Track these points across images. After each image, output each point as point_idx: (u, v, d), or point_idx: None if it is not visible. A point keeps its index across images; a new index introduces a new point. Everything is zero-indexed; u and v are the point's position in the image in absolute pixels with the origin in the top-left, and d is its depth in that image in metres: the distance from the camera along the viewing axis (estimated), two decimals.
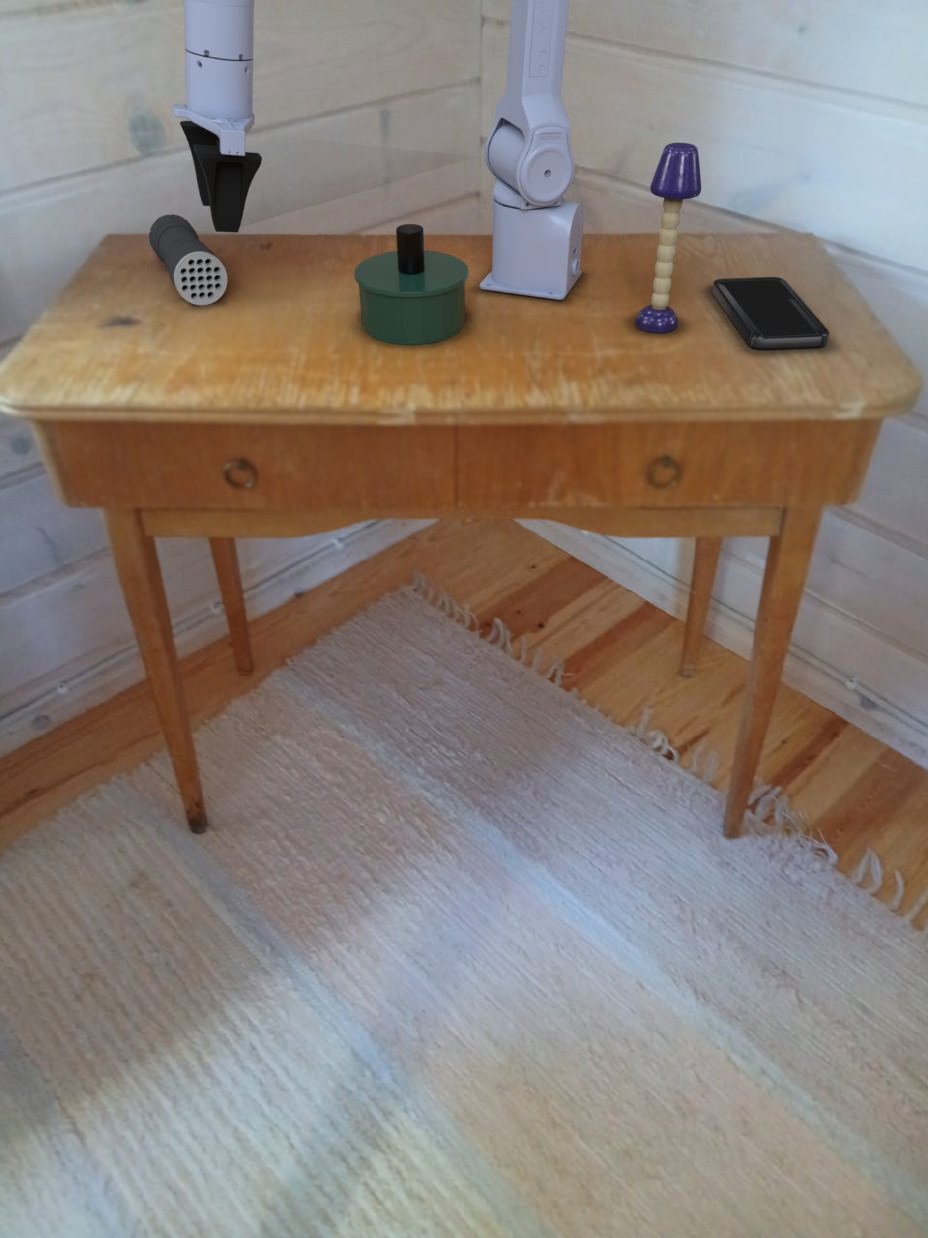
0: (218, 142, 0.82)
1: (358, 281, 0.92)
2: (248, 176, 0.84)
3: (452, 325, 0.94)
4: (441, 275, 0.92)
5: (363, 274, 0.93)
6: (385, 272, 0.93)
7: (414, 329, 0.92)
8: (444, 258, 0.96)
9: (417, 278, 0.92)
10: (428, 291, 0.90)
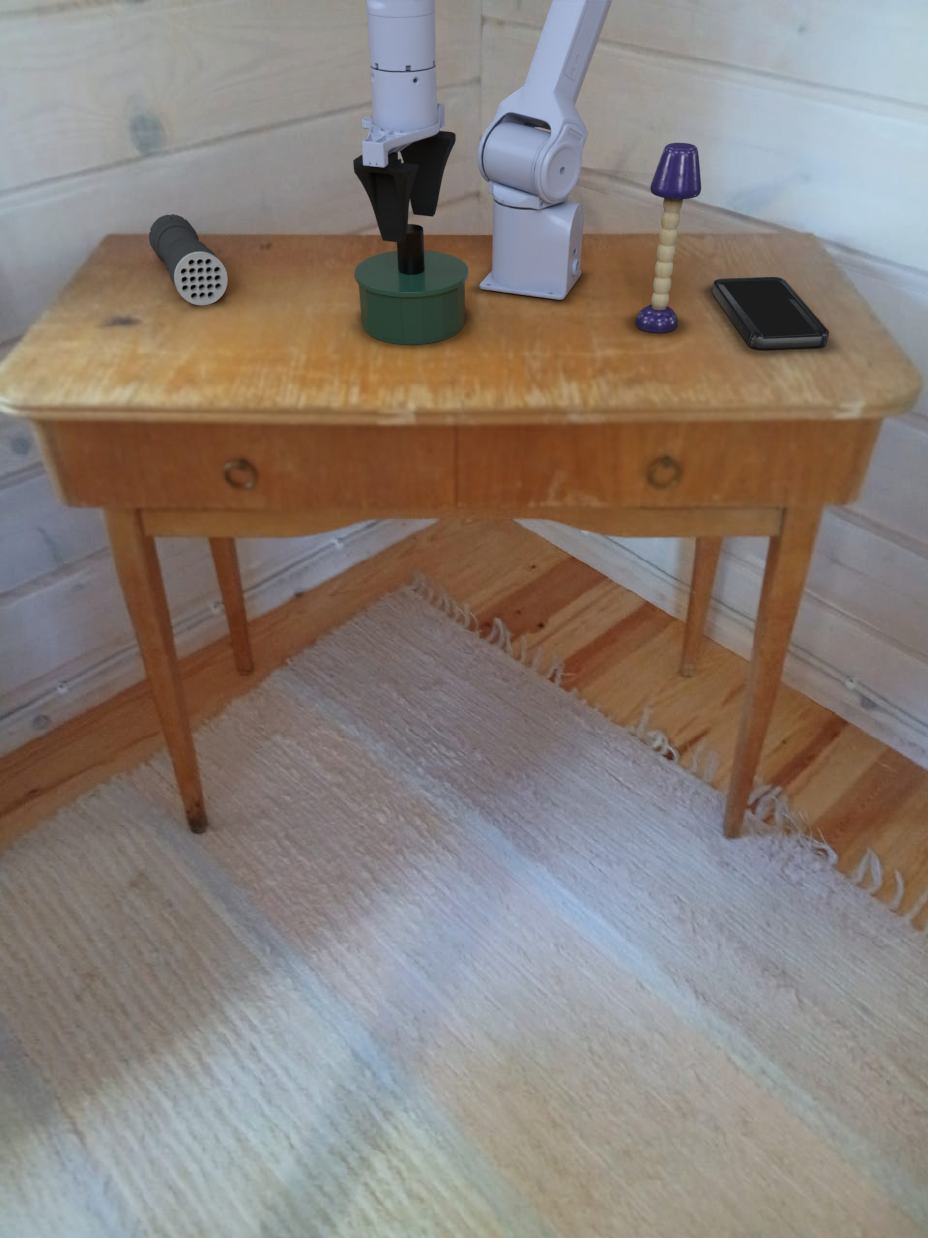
0: None
1: (358, 281, 0.92)
2: (399, 187, 0.83)
3: (452, 325, 0.94)
4: (441, 275, 0.92)
5: (363, 274, 0.93)
6: (385, 272, 0.93)
7: (414, 329, 0.92)
8: (444, 258, 0.96)
9: (417, 278, 0.92)
10: (428, 291, 0.90)
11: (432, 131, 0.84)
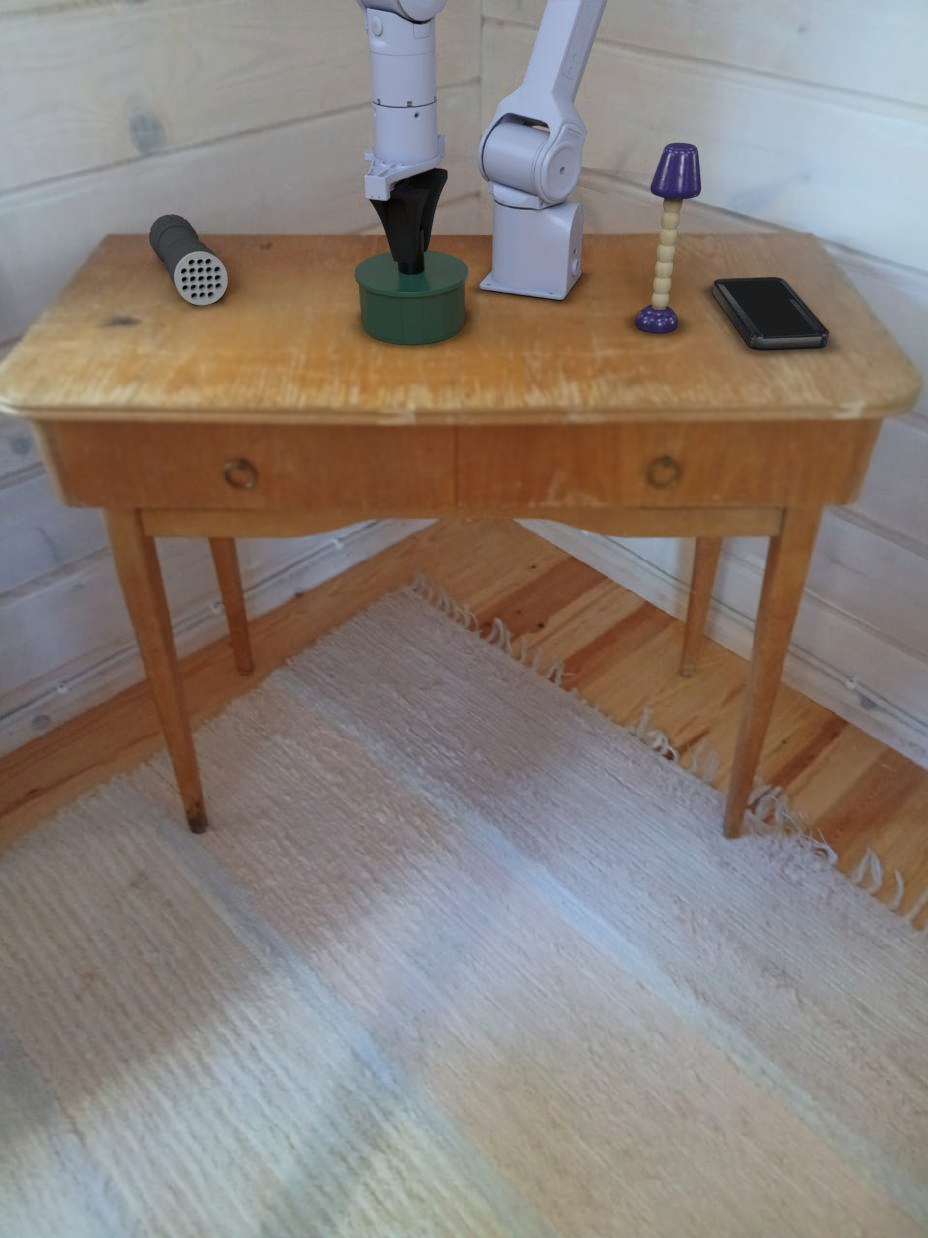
0: None
1: (358, 281, 0.92)
2: (411, 212, 0.86)
3: (452, 325, 0.94)
4: (441, 275, 0.92)
5: (363, 274, 0.93)
6: (385, 272, 0.93)
7: (414, 329, 0.92)
8: (444, 258, 0.96)
9: (417, 278, 0.92)
10: (428, 291, 0.90)
11: (433, 164, 0.86)
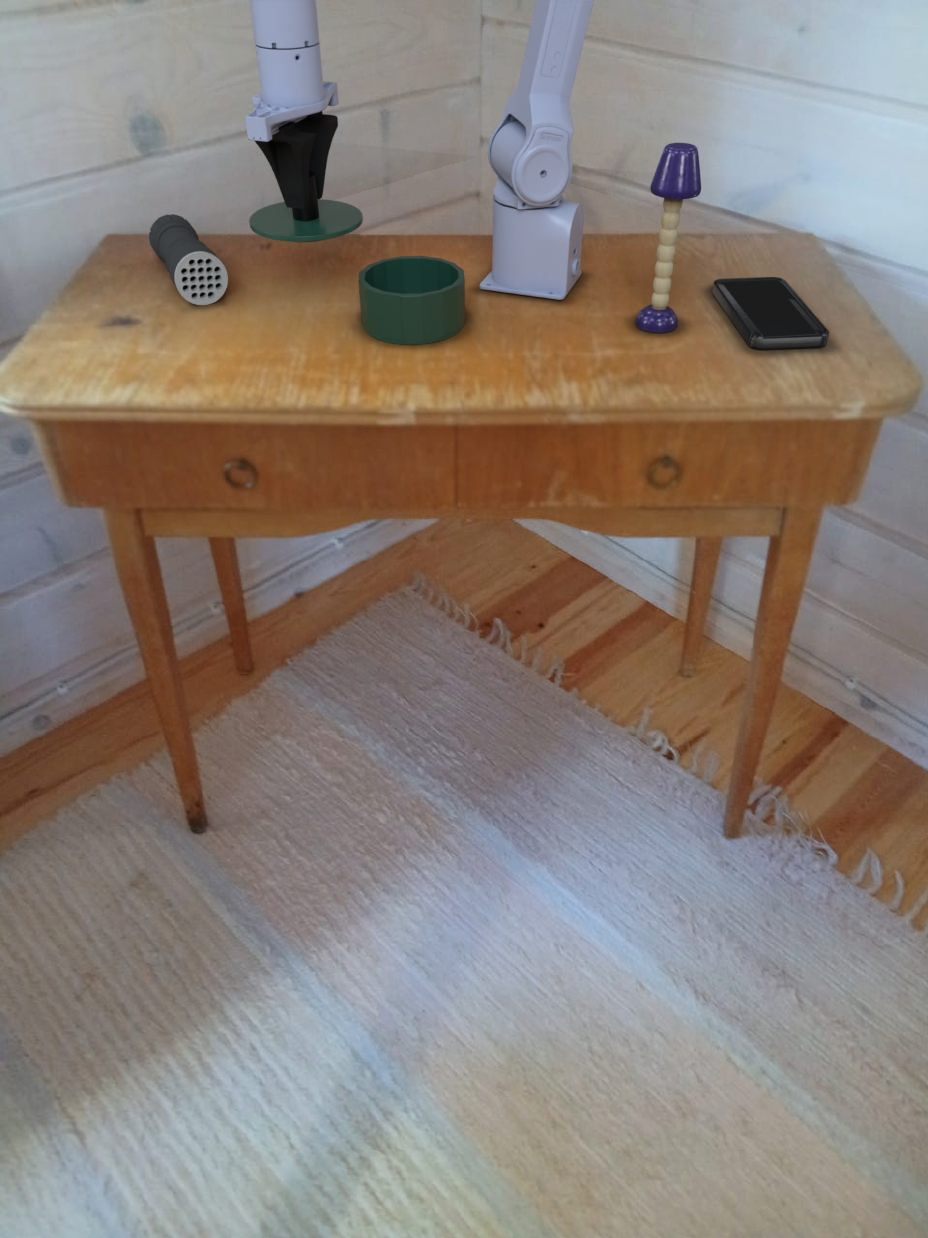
0: None
1: (251, 227, 0.93)
2: (297, 155, 0.88)
3: (452, 325, 0.94)
4: (334, 221, 0.94)
5: (257, 220, 0.94)
6: (280, 219, 0.94)
7: (414, 329, 0.92)
8: (341, 206, 0.97)
9: (310, 224, 0.93)
10: (318, 235, 0.91)
11: (318, 107, 0.87)
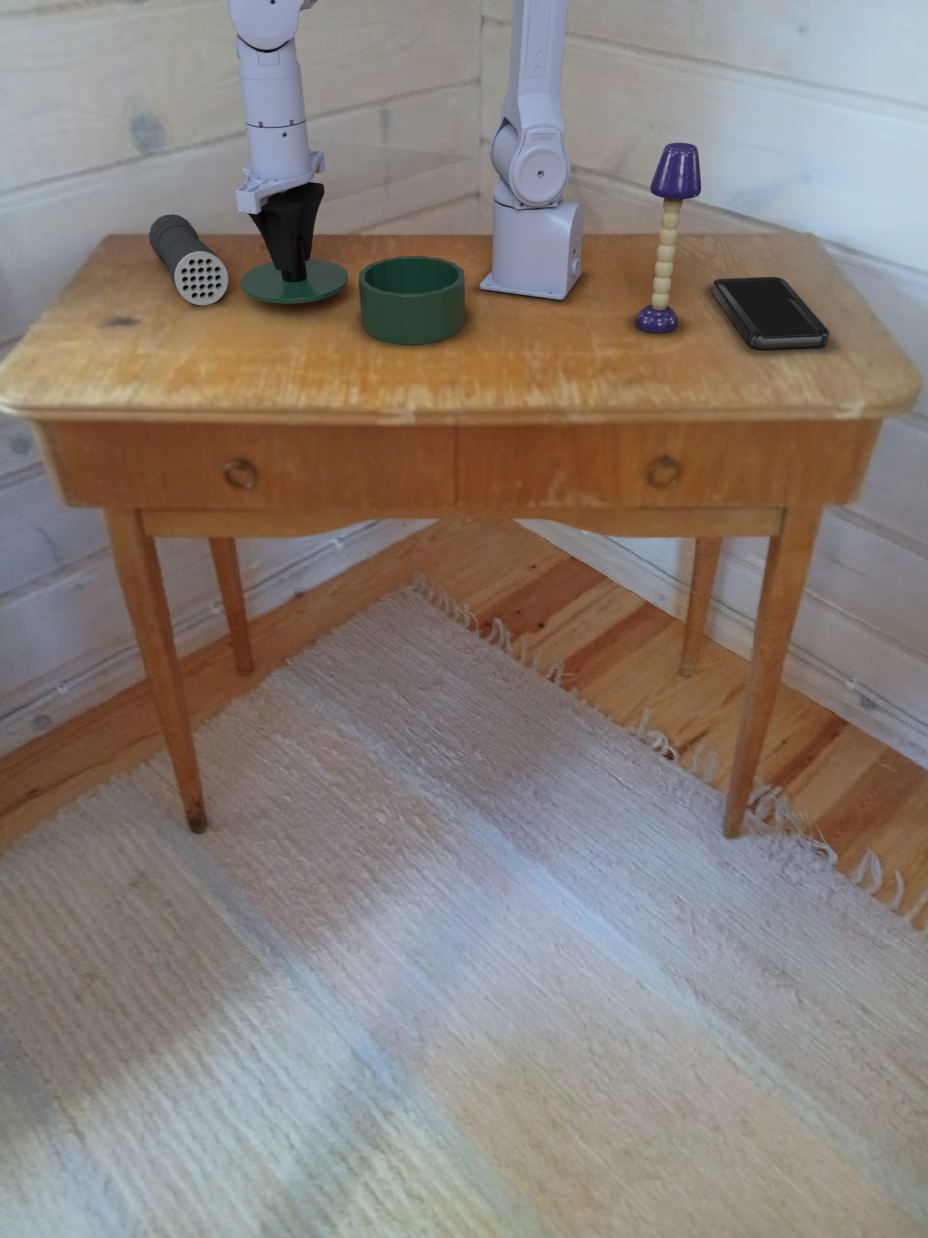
0: None
1: (242, 288, 0.98)
2: (285, 224, 0.93)
3: (452, 325, 0.94)
4: (321, 282, 0.99)
5: (248, 281, 0.99)
6: (269, 280, 0.99)
7: (414, 329, 0.92)
8: (328, 266, 1.02)
9: (298, 285, 0.98)
10: (305, 298, 0.96)
11: (305, 179, 0.92)
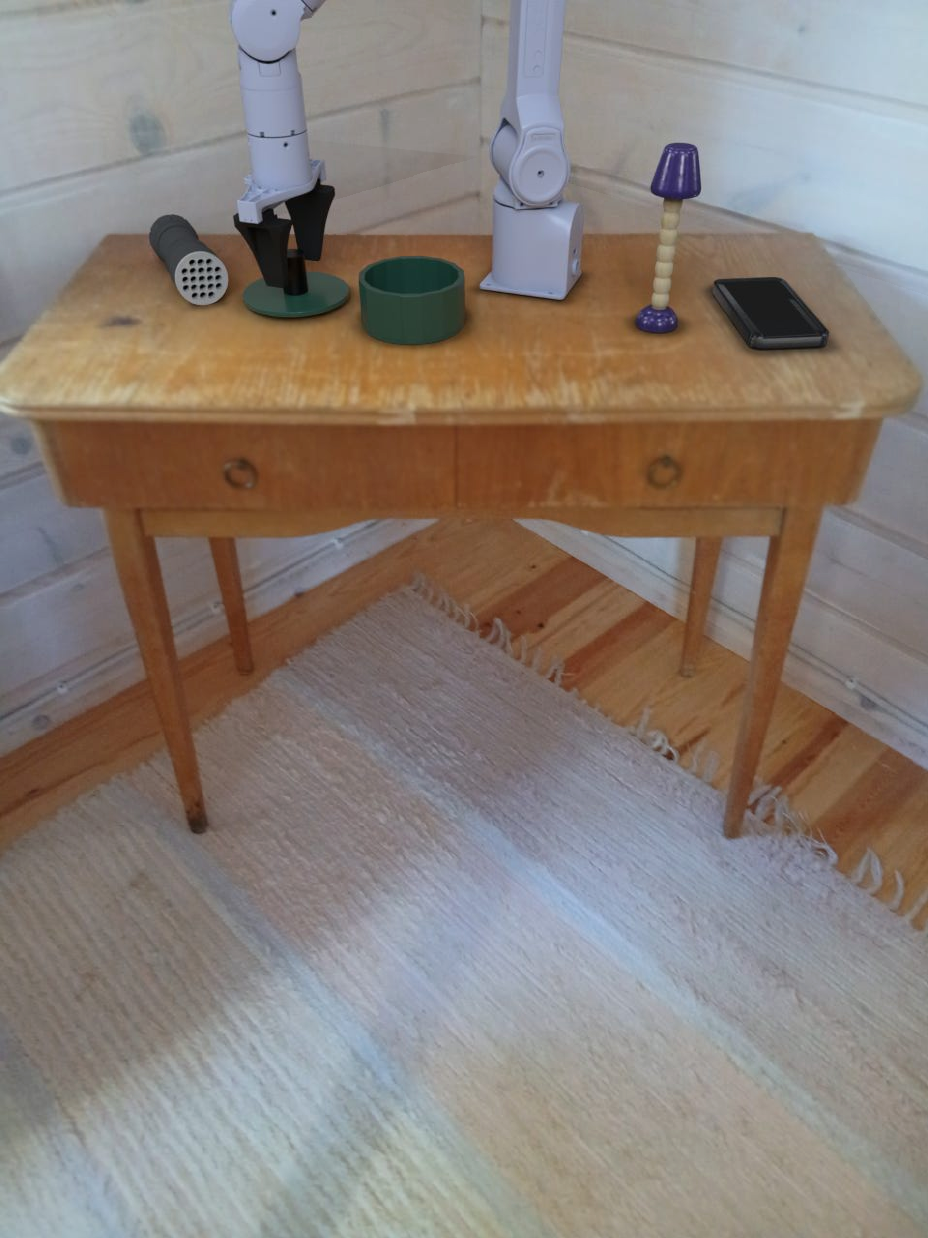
0: None
1: (244, 302, 0.99)
2: (275, 240, 0.92)
3: (452, 325, 0.94)
4: (322, 296, 1.00)
5: (250, 295, 1.00)
6: (271, 293, 1.00)
7: (414, 329, 0.92)
8: (329, 279, 1.03)
9: (299, 299, 0.99)
10: (307, 311, 0.97)
11: (306, 189, 0.92)
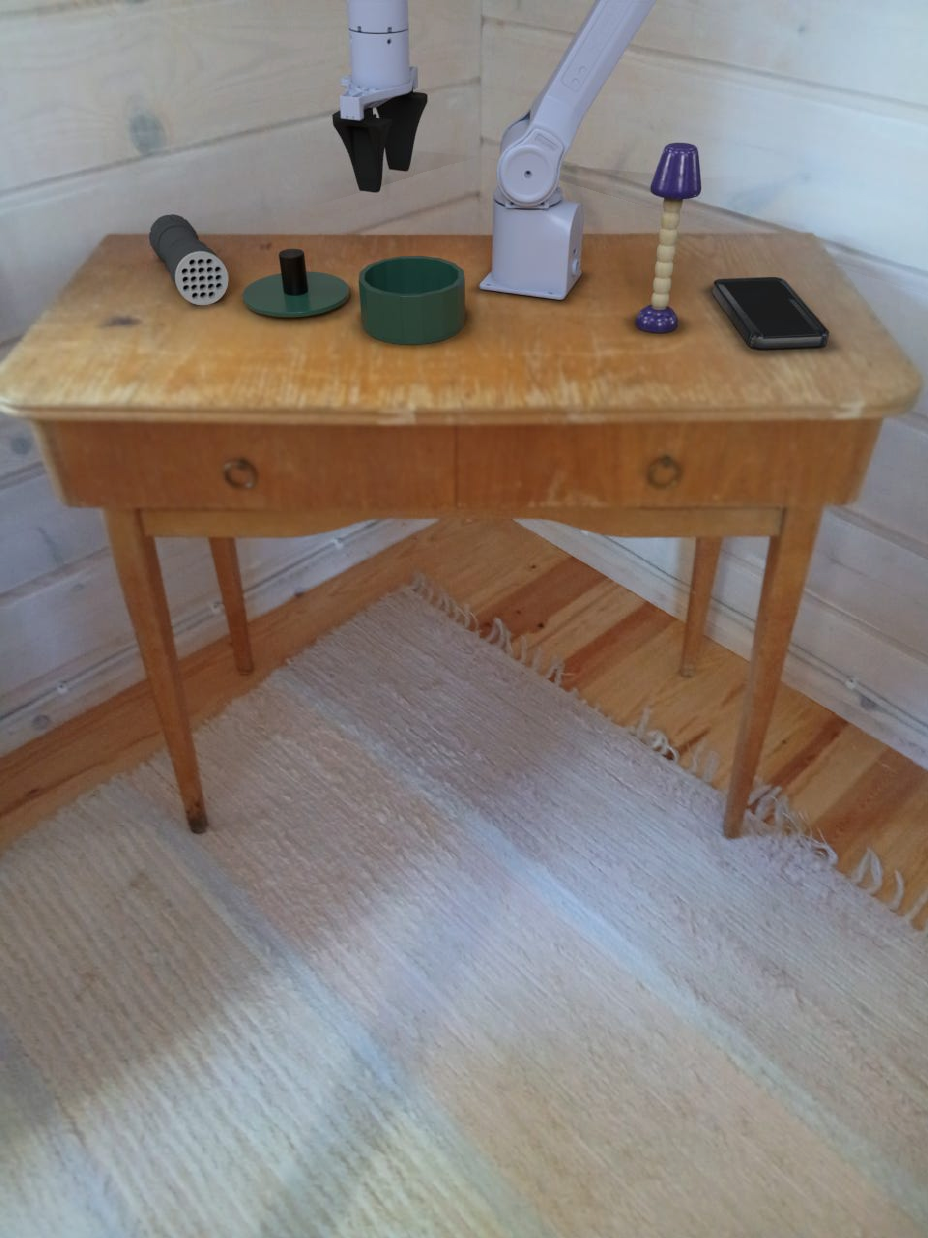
0: None
1: (244, 302, 0.99)
2: (374, 140, 0.91)
3: (452, 325, 0.94)
4: (322, 296, 1.00)
5: (250, 295, 1.00)
6: (271, 293, 1.00)
7: (414, 329, 0.92)
8: (329, 279, 1.03)
9: (299, 299, 0.99)
10: (307, 311, 0.97)
11: (405, 89, 0.92)
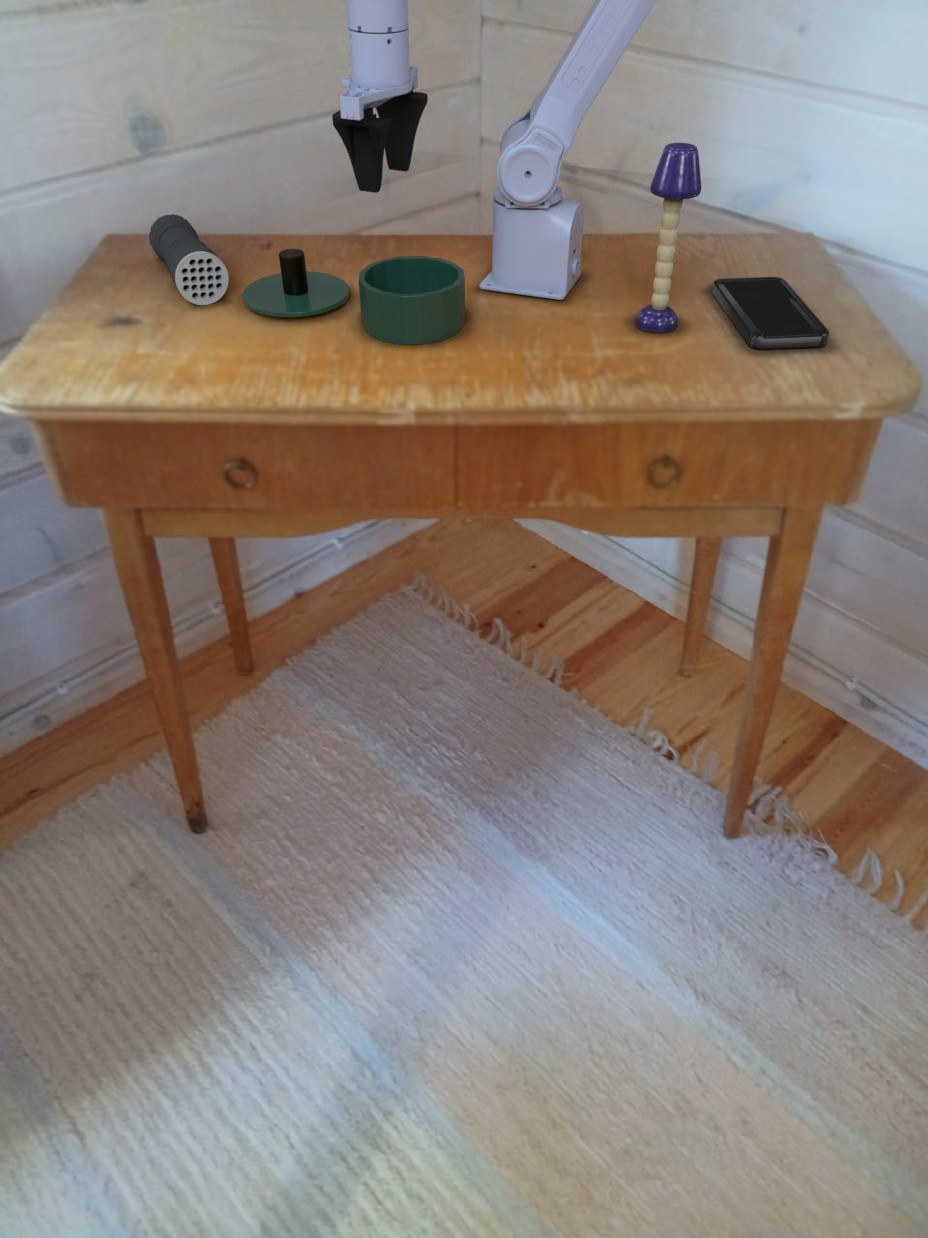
0: None
1: (244, 302, 0.99)
2: (374, 140, 0.91)
3: (452, 325, 0.94)
4: (322, 296, 1.00)
5: (250, 295, 1.00)
6: (271, 293, 1.00)
7: (414, 329, 0.92)
8: (329, 279, 1.03)
9: (299, 299, 0.99)
10: (307, 311, 0.97)
11: (405, 89, 0.92)
